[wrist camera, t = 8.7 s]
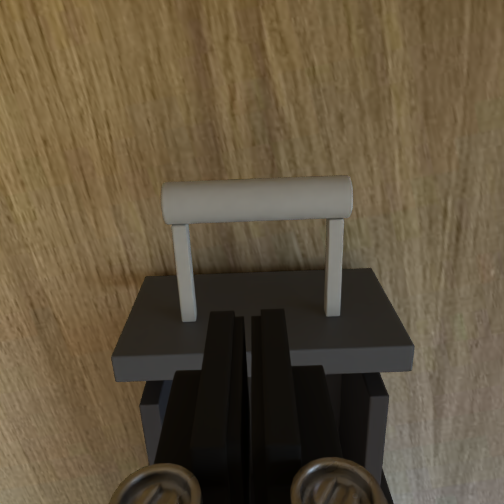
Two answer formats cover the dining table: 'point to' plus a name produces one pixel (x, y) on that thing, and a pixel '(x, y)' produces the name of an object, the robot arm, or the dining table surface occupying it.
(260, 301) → the drawer
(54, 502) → the dining table surface
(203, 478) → the robot arm
